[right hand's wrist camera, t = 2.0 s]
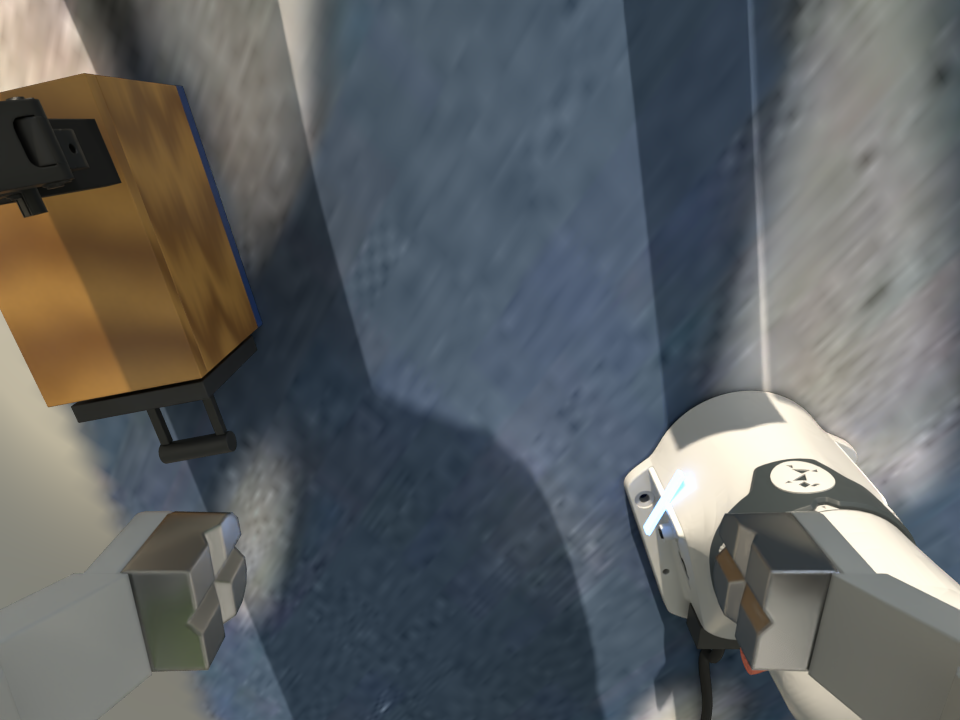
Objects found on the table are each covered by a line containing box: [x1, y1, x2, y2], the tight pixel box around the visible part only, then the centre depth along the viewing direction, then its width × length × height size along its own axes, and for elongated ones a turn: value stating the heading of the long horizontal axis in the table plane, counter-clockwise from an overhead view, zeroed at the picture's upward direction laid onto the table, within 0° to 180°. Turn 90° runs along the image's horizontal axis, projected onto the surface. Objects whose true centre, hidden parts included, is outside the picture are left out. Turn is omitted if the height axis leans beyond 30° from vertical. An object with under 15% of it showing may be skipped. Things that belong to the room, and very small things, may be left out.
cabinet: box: [0, 73, 262, 407], centre depth 40 cm, size 17×10×11 cm, turn 11°
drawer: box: [71, 336, 257, 464], centre depth 42 cm, size 22×9×9 cm, turn 11°
